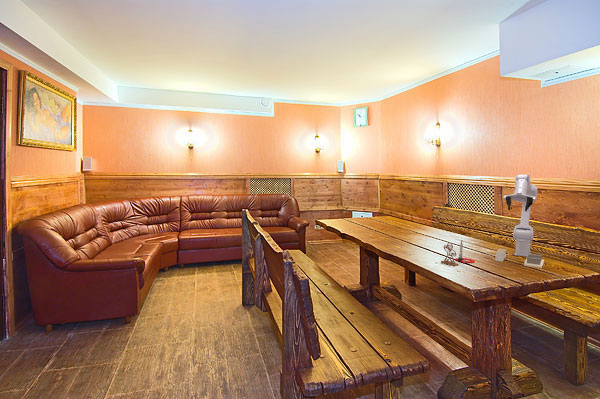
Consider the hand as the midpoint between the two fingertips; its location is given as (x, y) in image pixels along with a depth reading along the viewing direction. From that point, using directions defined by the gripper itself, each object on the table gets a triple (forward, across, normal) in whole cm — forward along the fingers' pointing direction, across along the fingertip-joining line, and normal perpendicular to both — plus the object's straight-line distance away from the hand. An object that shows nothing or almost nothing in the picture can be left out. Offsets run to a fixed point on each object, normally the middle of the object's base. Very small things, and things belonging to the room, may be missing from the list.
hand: (517, 209), depth 176 cm
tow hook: (+26, -23, +18) cm, 39 cm away
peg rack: (+14, +8, +29) cm, 33 cm away
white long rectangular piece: (+14, -8, +29) cm, 33 cm away
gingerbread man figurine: (+34, -29, +11) cm, 46 cm away
